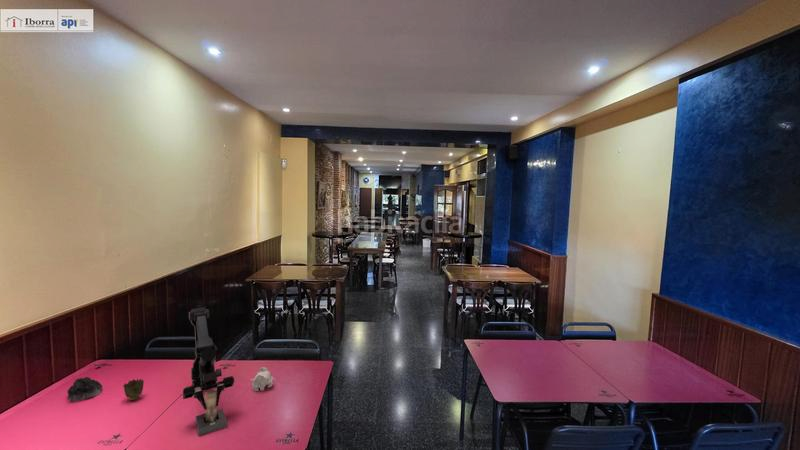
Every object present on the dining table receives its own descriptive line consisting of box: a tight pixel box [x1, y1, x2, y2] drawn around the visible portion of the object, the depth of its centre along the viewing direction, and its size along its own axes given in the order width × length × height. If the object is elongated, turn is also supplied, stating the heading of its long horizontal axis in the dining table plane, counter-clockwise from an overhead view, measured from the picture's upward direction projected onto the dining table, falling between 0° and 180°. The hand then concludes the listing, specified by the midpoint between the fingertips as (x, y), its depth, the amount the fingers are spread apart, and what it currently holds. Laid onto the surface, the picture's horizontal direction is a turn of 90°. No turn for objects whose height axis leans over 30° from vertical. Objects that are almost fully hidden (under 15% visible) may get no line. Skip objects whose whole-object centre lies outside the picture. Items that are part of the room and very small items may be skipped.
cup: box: [123, 378, 145, 402], centre depth 161 cm, size 8×7×8 cm
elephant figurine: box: [250, 366, 276, 392], centre depth 173 cm, size 10×12×9 cm
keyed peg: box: [204, 389, 218, 423], centre depth 143 cm, size 5×4×12 cm
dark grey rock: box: [67, 376, 103, 402], centre depth 165 cm, size 13×14×10 cm
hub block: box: [195, 407, 228, 437], centre depth 144 cm, size 10×10×3 cm
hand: (211, 407), depth 143 cm, fingers closed on keyed peg, 4 cm apart
